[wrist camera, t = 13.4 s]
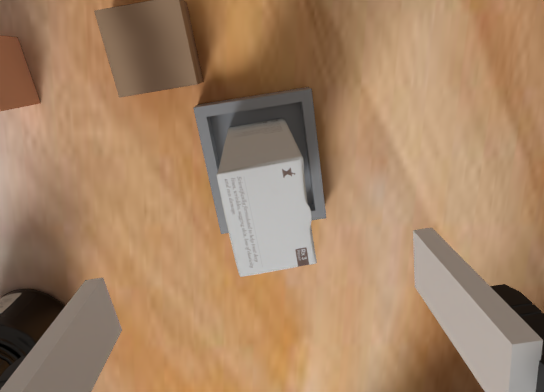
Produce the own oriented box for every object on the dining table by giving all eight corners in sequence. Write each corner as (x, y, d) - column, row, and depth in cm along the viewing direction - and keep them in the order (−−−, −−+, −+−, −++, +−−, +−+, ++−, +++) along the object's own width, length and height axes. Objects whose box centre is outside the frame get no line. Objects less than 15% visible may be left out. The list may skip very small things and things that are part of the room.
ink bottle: (5, 273, 44) (-85, 348, 32) (82, 299, 45) (22, 380, 34) (-11, 337, 46) (-98, 427, 35) (62, 360, 48) (0, 453, 37)
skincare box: (227, 126, 38) (207, 166, 24) (287, 116, 38) (303, 150, 24) (243, 204, 41) (234, 281, 27) (299, 195, 41) (319, 267, 27)
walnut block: (187, 2, 35) (177, -5, 31) (203, 81, 37) (197, 84, 33) (112, 15, 35) (94, 10, 31) (133, 93, 37) (119, 97, 34)
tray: (308, 86, 37) (311, 88, 35) (322, 209, 42) (326, 218, 39) (197, 104, 38) (193, 107, 35) (223, 224, 42) (221, 233, 40)
